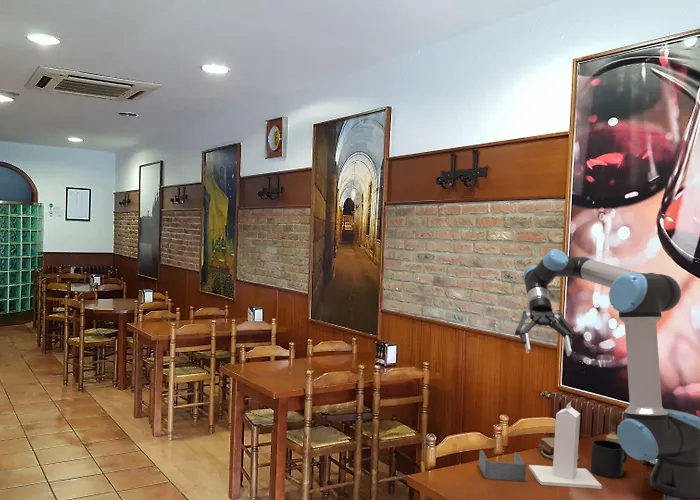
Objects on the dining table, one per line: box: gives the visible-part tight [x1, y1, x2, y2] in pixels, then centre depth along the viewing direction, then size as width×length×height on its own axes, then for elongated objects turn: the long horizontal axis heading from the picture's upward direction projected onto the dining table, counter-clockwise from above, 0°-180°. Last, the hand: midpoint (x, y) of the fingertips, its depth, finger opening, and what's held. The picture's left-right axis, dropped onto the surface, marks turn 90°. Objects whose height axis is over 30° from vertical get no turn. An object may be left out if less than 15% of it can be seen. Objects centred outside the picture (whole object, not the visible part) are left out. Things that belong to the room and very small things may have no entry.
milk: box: [552, 401, 581, 480], centre depth 195 cm, size 6×6×22 cm
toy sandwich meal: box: [537, 437, 580, 461], centre depth 216 cm, size 12×14×5 cm
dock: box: [478, 449, 527, 482], centre depth 196 cm, size 12×11×5 cm
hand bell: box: [605, 405, 620, 444], centre depth 224 cm, size 8×8×16 cm
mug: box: [590, 439, 628, 479], centre depth 202 cm, size 9×12×9 cm
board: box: [528, 464, 603, 490], centre depth 195 cm, size 18×14×1 cm
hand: (548, 352), depth 211 cm, fingers open, 13 cm apart
